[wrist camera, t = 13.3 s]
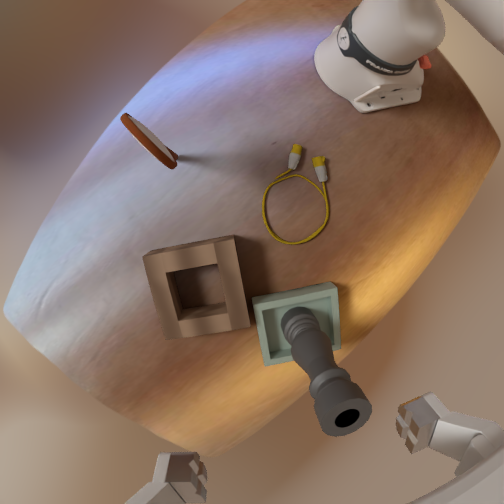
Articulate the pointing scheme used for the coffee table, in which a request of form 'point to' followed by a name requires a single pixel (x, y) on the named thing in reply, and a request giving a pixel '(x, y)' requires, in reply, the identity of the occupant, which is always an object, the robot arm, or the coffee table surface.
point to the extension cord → (321, 174)
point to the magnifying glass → (150, 141)
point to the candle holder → (325, 375)
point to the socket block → (204, 317)
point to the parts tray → (277, 304)
